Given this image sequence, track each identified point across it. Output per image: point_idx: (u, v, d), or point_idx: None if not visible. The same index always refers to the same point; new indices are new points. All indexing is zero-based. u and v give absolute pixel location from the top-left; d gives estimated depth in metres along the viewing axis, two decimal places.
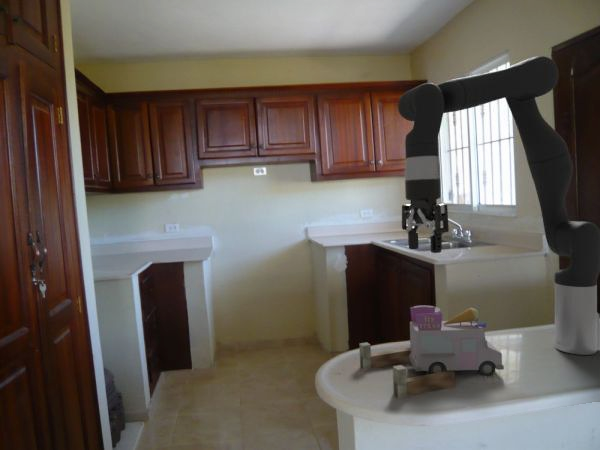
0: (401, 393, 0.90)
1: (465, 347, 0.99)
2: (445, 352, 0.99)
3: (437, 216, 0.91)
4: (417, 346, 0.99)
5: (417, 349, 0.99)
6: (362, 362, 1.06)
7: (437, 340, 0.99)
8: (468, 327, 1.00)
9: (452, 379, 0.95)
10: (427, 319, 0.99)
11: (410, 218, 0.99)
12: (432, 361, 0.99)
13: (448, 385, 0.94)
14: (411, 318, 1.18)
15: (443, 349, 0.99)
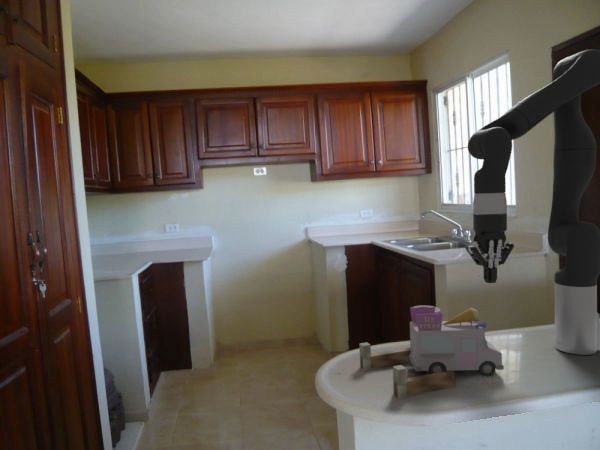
0: (401, 393, 0.90)
1: (465, 347, 0.99)
2: (445, 352, 0.99)
3: (509, 253, 1.07)
4: (417, 346, 0.99)
5: (417, 349, 0.99)
6: (362, 362, 1.06)
7: (437, 340, 0.99)
8: (468, 327, 1.00)
9: (452, 379, 0.95)
10: (427, 320, 0.99)
11: (491, 251, 1.05)
12: (432, 361, 0.99)
13: (448, 385, 0.94)
14: (411, 318, 1.18)
15: (443, 350, 0.99)
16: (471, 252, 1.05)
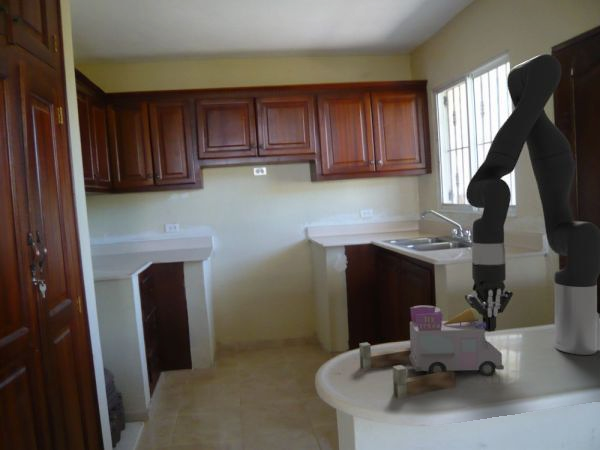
0: (401, 393, 0.90)
1: (465, 347, 0.99)
2: (445, 352, 0.99)
3: (507, 301, 1.08)
4: (417, 346, 0.99)
5: (417, 349, 0.99)
6: (362, 362, 1.06)
7: (437, 340, 0.99)
8: (468, 327, 1.00)
9: (452, 379, 0.95)
10: (427, 320, 0.99)
11: (490, 300, 1.05)
12: (432, 361, 0.99)
13: (448, 385, 0.94)
14: (411, 318, 1.18)
15: (443, 350, 0.99)
16: (470, 301, 1.06)
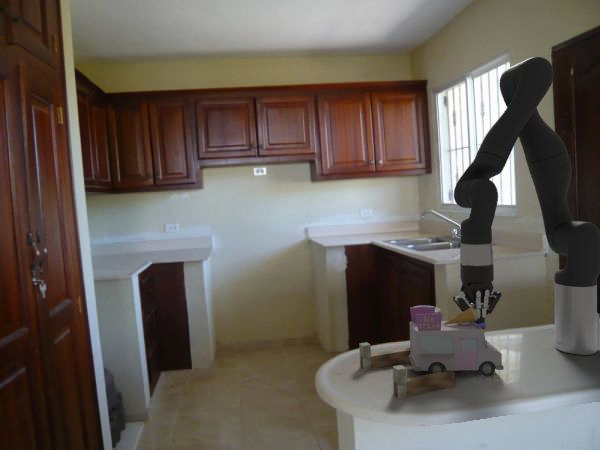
0: (401, 393, 0.90)
1: (465, 347, 0.98)
2: (445, 352, 0.99)
3: (496, 302, 1.07)
4: (417, 346, 0.99)
5: (417, 349, 0.99)
6: (362, 362, 1.06)
7: (436, 340, 0.99)
8: (468, 327, 1.00)
9: (452, 379, 0.95)
10: (427, 320, 0.99)
11: (478, 301, 1.05)
12: (432, 361, 0.99)
13: (448, 385, 0.94)
14: (411, 318, 1.18)
15: (443, 350, 0.99)
16: (458, 303, 1.05)
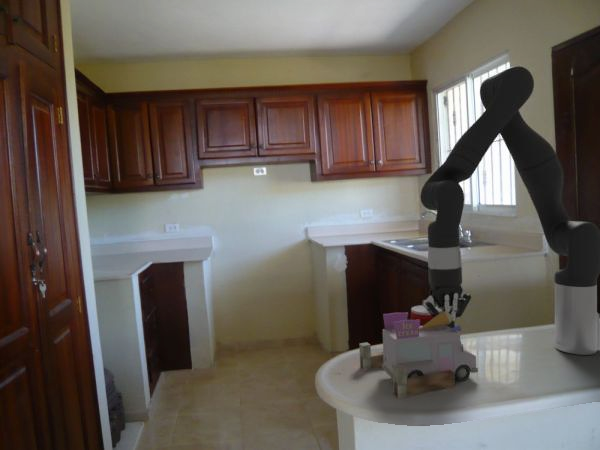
0: (401, 393, 0.90)
1: (442, 352, 0.96)
2: (423, 359, 0.95)
3: (466, 304, 1.05)
4: (396, 355, 0.94)
5: (396, 358, 0.94)
6: (362, 362, 1.06)
7: (415, 347, 0.95)
8: (443, 331, 0.97)
9: (452, 379, 0.95)
10: (406, 326, 0.94)
11: (447, 305, 1.03)
12: (410, 370, 0.95)
13: (448, 385, 0.94)
14: (411, 318, 1.18)
15: (421, 357, 0.95)
16: (426, 307, 1.03)
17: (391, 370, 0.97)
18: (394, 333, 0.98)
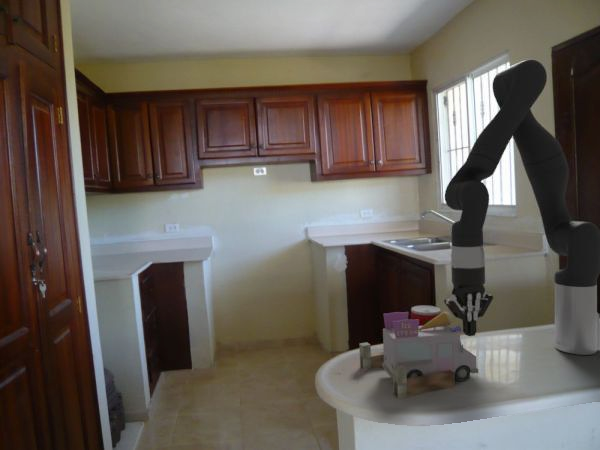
0: (401, 393, 0.90)
1: (441, 352, 0.96)
2: (422, 359, 0.95)
3: (488, 305, 1.06)
4: (394, 354, 0.95)
5: (394, 357, 0.95)
6: (362, 362, 1.06)
7: (414, 347, 0.95)
8: (443, 331, 0.98)
9: (452, 379, 0.95)
10: (404, 326, 0.95)
11: (469, 304, 1.04)
12: (409, 369, 0.95)
13: (448, 385, 0.94)
14: (411, 318, 1.18)
15: (420, 356, 0.95)
16: (449, 306, 1.04)
17: (390, 369, 0.97)
18: (394, 332, 0.98)
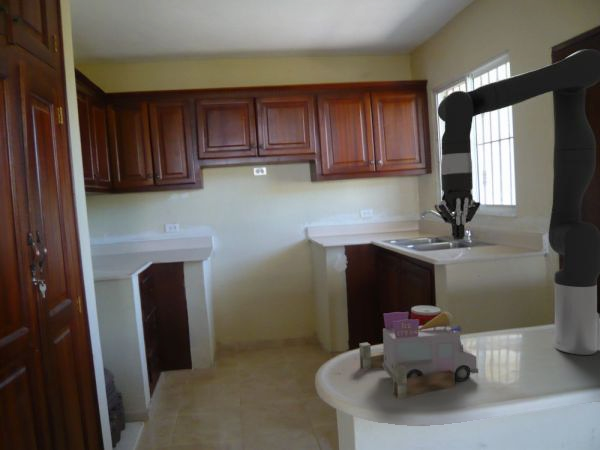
0: (401, 393, 0.90)
1: (441, 352, 0.96)
2: (422, 359, 0.95)
3: (475, 211, 1.14)
4: (394, 354, 0.95)
5: (394, 357, 0.95)
6: (362, 362, 1.06)
7: (414, 347, 0.95)
8: (443, 331, 0.98)
9: (452, 379, 0.95)
10: (404, 326, 0.95)
11: (458, 208, 1.11)
12: (409, 369, 0.95)
13: (448, 385, 0.94)
14: (411, 318, 1.18)
15: (420, 356, 0.95)
16: (439, 210, 1.11)
17: (390, 369, 0.97)
18: (394, 332, 0.98)
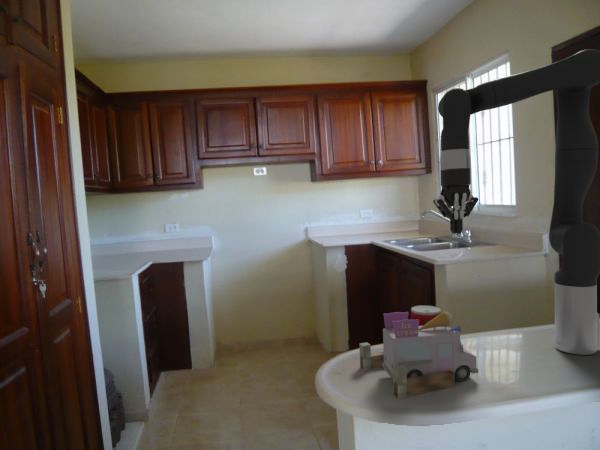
0: (401, 393, 0.90)
1: (441, 352, 0.96)
2: (422, 359, 0.95)
3: (473, 206, 1.16)
4: (394, 354, 0.95)
5: (394, 357, 0.95)
6: (362, 362, 1.06)
7: (414, 347, 0.95)
8: (443, 331, 0.98)
9: (452, 379, 0.95)
10: (404, 326, 0.95)
11: (456, 203, 1.14)
12: (409, 369, 0.95)
13: (448, 385, 0.94)
14: (411, 318, 1.18)
15: (420, 356, 0.95)
16: (438, 204, 1.14)
17: (390, 369, 0.97)
18: (394, 332, 0.98)
